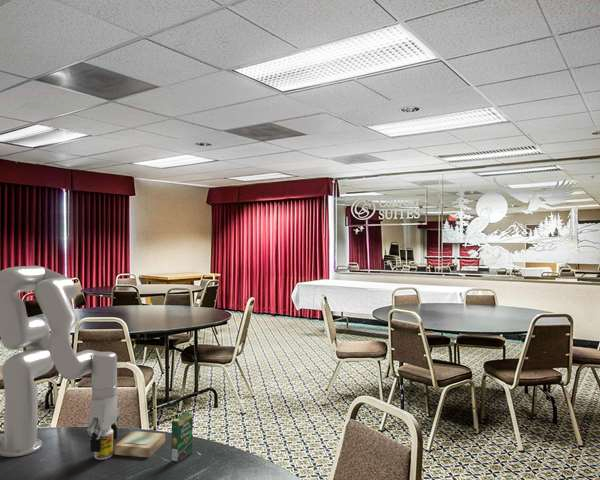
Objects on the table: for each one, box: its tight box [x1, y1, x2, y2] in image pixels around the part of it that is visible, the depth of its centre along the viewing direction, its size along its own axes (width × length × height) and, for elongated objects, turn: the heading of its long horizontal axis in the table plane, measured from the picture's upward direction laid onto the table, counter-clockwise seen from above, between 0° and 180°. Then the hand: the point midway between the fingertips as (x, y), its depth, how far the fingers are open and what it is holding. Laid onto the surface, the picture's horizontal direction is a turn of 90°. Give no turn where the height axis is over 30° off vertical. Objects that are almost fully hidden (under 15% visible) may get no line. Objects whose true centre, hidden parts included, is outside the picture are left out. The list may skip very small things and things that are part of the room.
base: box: [114, 430, 166, 458], centre depth 162 cm, size 12×12×3 cm
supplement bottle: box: [93, 426, 114, 461], centre depth 155 cm, size 6×6×10 cm
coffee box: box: [170, 412, 194, 464], centre depth 156 cm, size 8×3×13 cm, turn 157°
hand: (104, 445), depth 155 cm, fingers open, 9 cm apart
